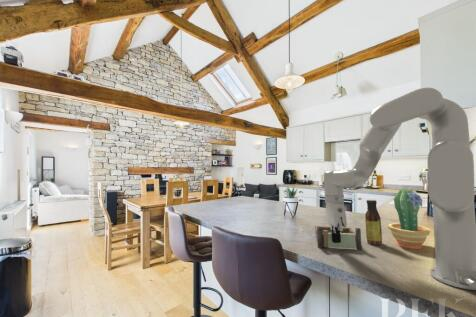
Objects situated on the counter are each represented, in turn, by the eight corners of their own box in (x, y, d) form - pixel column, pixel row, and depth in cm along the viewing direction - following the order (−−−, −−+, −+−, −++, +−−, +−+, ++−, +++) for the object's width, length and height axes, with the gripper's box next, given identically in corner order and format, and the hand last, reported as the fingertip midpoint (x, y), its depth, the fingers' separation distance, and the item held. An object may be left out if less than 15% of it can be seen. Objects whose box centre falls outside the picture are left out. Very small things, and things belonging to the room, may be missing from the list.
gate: (354, 247, 96) (353, 231, 96) (355, 248, 94) (354, 232, 95) (324, 245, 98) (323, 230, 99) (324, 247, 97) (324, 231, 97)
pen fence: (362, 250, 93) (361, 229, 94) (317, 247, 98) (317, 227, 98) (351, 237, 110) (351, 219, 111) (314, 236, 115) (313, 218, 115)
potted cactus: (391, 248, 95) (387, 190, 97) (386, 238, 109) (383, 187, 110) (437, 254, 88) (433, 191, 89) (426, 242, 102) (422, 188, 103)
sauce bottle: (384, 246, 98) (382, 201, 99) (369, 245, 99) (367, 201, 100) (378, 241, 105) (376, 199, 106) (364, 240, 106) (362, 199, 107)
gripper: (351, 201, 88) (354, 248, 87) (335, 196, 103) (337, 236, 102) (333, 201, 88) (335, 248, 87) (319, 197, 103) (321, 237, 102)
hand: (336, 242), depth 94 cm, fingers closed
